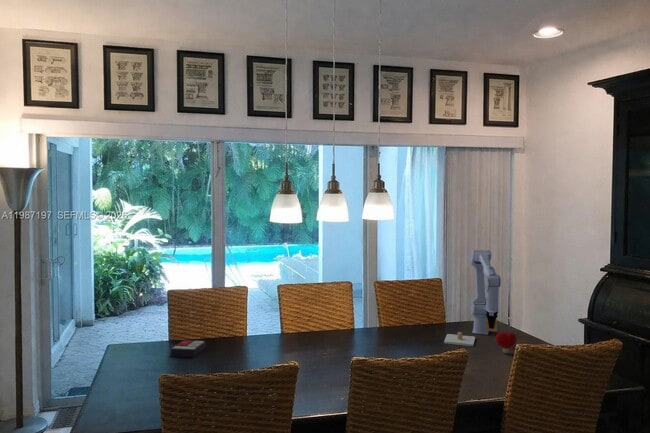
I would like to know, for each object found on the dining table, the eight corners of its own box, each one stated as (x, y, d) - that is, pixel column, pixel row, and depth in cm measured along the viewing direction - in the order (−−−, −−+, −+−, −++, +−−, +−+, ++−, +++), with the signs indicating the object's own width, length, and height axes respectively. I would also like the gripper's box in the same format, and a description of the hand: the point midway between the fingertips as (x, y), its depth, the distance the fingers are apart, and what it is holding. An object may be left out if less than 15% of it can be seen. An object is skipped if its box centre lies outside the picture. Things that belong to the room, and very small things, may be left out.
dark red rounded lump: (514, 351, 252) (514, 330, 251) (518, 356, 245) (518, 334, 244) (493, 350, 253) (494, 330, 252) (497, 355, 246) (497, 334, 245)
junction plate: (447, 335, 277) (447, 327, 277) (475, 338, 273) (475, 330, 272) (444, 343, 264) (444, 335, 264) (473, 346, 259) (473, 337, 259)
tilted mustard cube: (486, 328, 267) (486, 318, 267) (496, 328, 265) (497, 319, 265) (486, 330, 262) (486, 320, 262) (496, 331, 261) (496, 321, 260)
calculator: (205, 340, 254) (194, 348, 239) (205, 349, 254) (193, 357, 239) (183, 339, 255) (170, 347, 240) (183, 348, 255) (170, 356, 241)
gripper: (484, 296, 271) (483, 322, 272) (483, 302, 257) (482, 329, 258) (499, 297, 269) (498, 323, 270) (498, 303, 255) (497, 331, 256)
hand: (491, 326), depth 264 cm, fingers closed on tilted mustard cube, 5 cm apart
